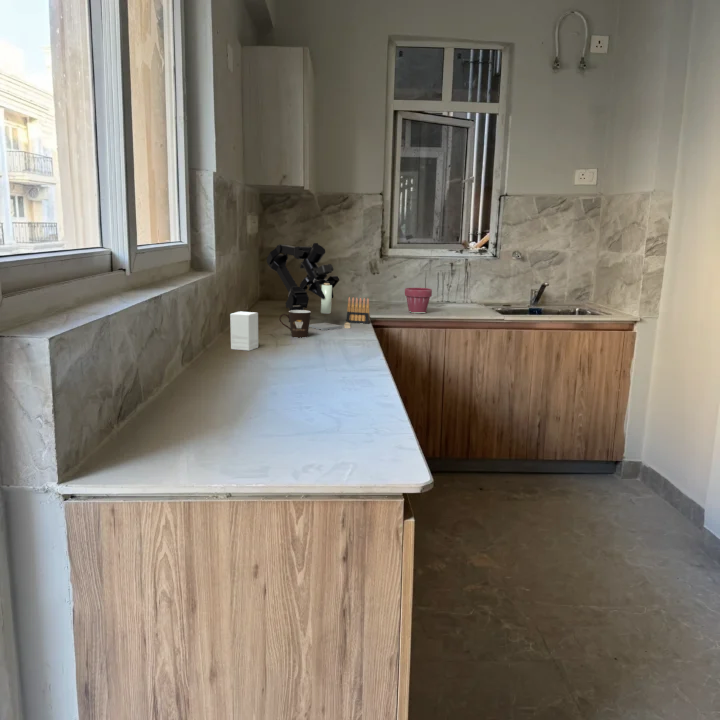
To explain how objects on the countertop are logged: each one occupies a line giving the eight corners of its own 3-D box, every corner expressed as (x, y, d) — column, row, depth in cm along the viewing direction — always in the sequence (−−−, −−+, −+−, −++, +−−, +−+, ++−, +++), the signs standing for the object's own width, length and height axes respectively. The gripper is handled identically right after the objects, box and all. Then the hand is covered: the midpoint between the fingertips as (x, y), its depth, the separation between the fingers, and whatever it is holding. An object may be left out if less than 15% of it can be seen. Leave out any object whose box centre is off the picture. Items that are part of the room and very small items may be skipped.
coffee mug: (314, 336, 246) (314, 311, 244) (303, 339, 238) (303, 313, 236) (289, 333, 250) (289, 308, 248) (277, 336, 243) (278, 311, 241)
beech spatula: (350, 328, 268) (350, 326, 268) (344, 328, 268) (344, 326, 268) (350, 323, 281) (350, 322, 281) (344, 323, 281) (344, 321, 281)
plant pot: (399, 312, 325) (400, 288, 322) (411, 310, 337) (412, 286, 334) (423, 315, 318) (424, 290, 315) (435, 312, 329) (436, 288, 327)
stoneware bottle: (320, 313, 264) (321, 283, 261) (320, 311, 268) (321, 282, 265) (331, 313, 264) (332, 283, 261) (331, 312, 268) (332, 282, 265)
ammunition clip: (369, 323, 284) (370, 297, 281) (368, 324, 282) (369, 298, 280) (347, 322, 286) (347, 296, 284) (346, 322, 284) (346, 296, 282)
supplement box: (259, 347, 219) (259, 312, 216) (248, 351, 212) (248, 314, 209) (240, 345, 221) (240, 310, 218) (229, 349, 214) (229, 313, 211)
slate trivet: (306, 326, 268) (306, 324, 267) (325, 324, 275) (325, 322, 275) (323, 330, 260) (323, 328, 260) (342, 328, 268) (342, 325, 267)
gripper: (304, 257, 257) (321, 287, 252) (337, 257, 270) (353, 285, 265) (292, 275, 264) (308, 303, 259) (325, 273, 277) (340, 301, 272)
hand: (328, 298), depth 264 cm, fingers closed on stoneware bottle, 4 cm apart
